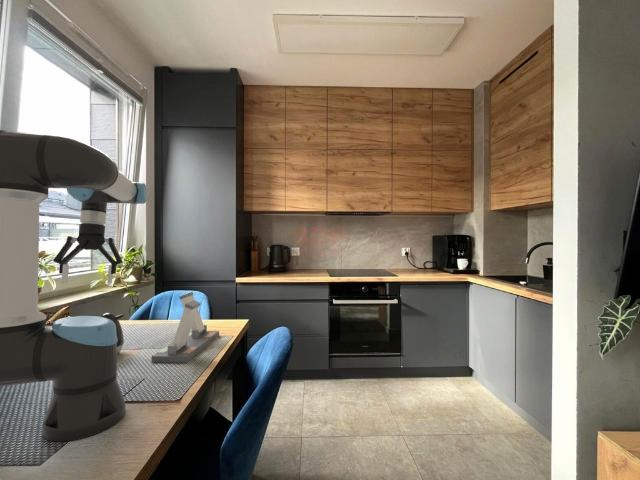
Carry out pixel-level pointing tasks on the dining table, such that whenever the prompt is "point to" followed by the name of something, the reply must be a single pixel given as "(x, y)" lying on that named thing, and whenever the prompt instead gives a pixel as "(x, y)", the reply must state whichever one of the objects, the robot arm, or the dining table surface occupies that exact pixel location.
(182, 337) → the near lever
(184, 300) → the far lever
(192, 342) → the switch base
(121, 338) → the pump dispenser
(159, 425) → the dining table surface
